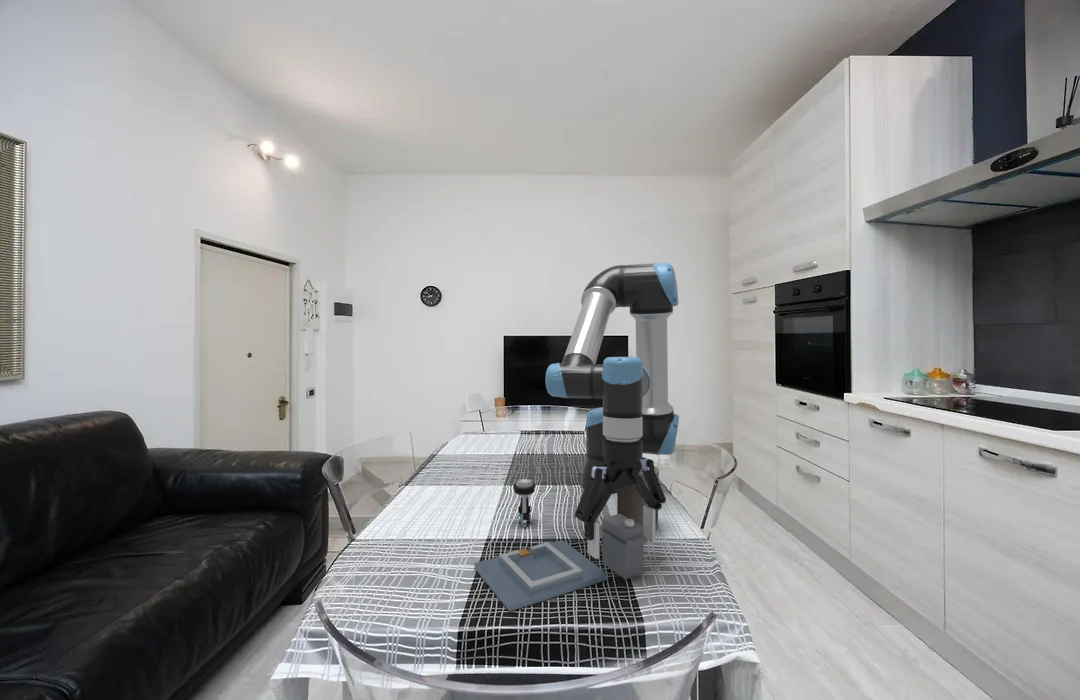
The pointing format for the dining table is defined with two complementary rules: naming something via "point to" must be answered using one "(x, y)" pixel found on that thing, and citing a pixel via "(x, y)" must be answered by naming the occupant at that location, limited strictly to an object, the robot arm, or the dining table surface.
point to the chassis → (538, 574)
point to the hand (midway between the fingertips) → (622, 547)
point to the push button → (524, 499)
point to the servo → (623, 545)
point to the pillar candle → (633, 501)
